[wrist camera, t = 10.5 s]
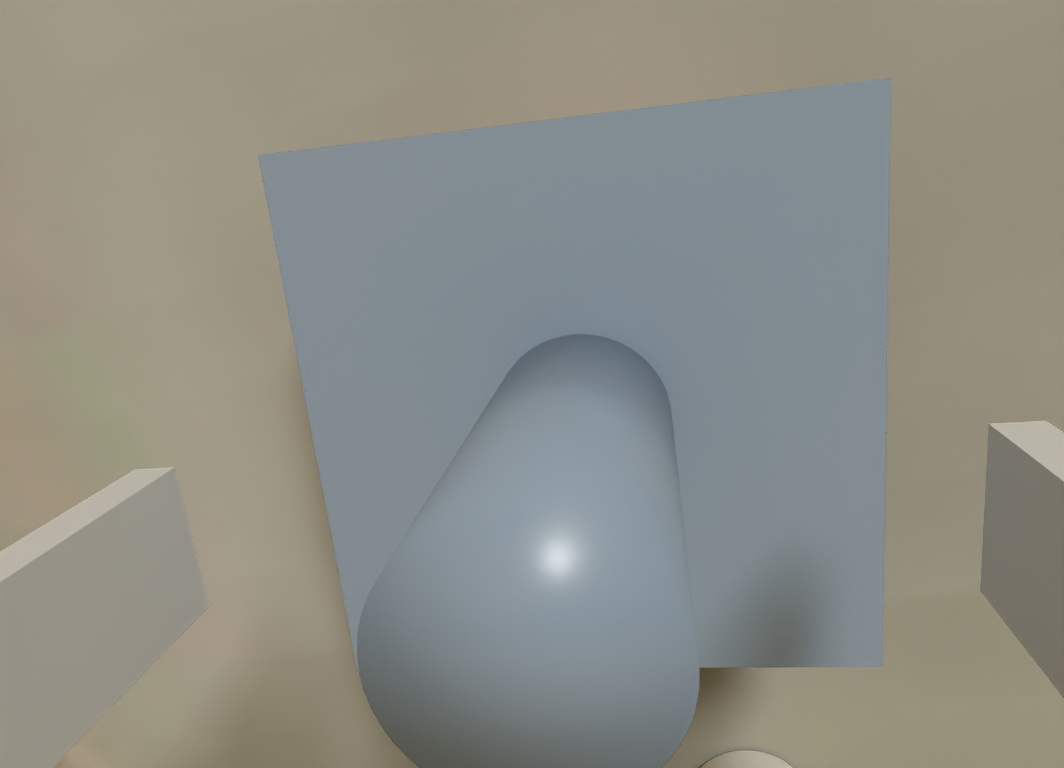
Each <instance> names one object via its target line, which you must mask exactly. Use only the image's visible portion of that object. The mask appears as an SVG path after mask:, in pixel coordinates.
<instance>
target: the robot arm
mask: <svg viewBox="0 0 1064 768" xmlns="http://www.w3.org/2000/svg"><path fill="white" fill-rule="evenodd" d="M980 591H981V592H982V594H983V595H984V596H985V597H986V599H987V600H988V601H989V603H990V604H991V605H992V606H993V608H994V609H995V610H996V612H997V613H998V614H999V615H1000V617H1001V618H1002V619H1003V621H1004V622H1005V623H1006V624H1007V626H1008V627H1009V628H1010V630H1011V631H1012V632H1013V633H1014V635H1015V636H1016V637H1017V639H1018V640H1019V641H1020V642H1021V644H1022V645H1023V646H1024V648H1025V649H1026V650H1027V651H1028V653H1029V654H1030V655H1031V657H1032V658H1033V659H1034V660H1035V662H1036V663H1037V664H1038V666H1039V667H1040V668H1041V669H1042V671H1043V672H1044V673H1045V675H1046V676H1047V677H1048V678H1049V680H1050V681H1051V682H1052V684H1053V685H1054V686H1055V687H1056V689H1057V690H1058V691H1059V693H1060V694H1061V695H1062V696H1063V698H1064V432H1062V431H1061V430H1059V429H1058V428H1056V427H1055V426H1053V425H1051V424H1050V423H1048V422H1047V421H1032V422H1014V423H995V424H989V430H988V449H987V469H986V489H985V508H984V528H983V548H982V567H981V587H980ZM208 608H209V606H208V602H207V598H206V594H205V590H204V585H203V581H202V577H201V573H200V569H199V565H198V561H197V557H196V553H195V549H194V545H193V541H192V537H191V533H190V529H189V525H188V521H187V517H186V512H185V508H184V504H183V500H182V496H181V492H180V488H179V484H178V480H177V476H176V472H175V468H174V467H172V468H153V469H135V470H133V471H131V472H130V473H128V474H126V475H125V476H123V477H122V478H120V479H118V480H117V481H115V482H113V483H112V484H110V485H108V486H107V487H105V488H104V489H102V490H100V491H99V492H97V493H95V494H94V495H92V496H90V497H89V498H87V499H86V500H84V501H82V502H81V503H79V504H77V505H76V506H74V507H72V508H71V509H69V510H68V511H66V512H64V513H63V514H61V515H59V516H58V517H56V518H55V519H53V520H51V521H50V522H48V523H46V524H45V525H43V526H41V527H40V528H38V529H37V530H35V531H33V532H32V533H30V534H28V535H27V536H25V537H23V538H22V539H20V540H19V541H17V542H15V543H14V544H12V545H10V546H9V547H7V548H5V549H4V550H2V551H1V552H0V768H54V766H55V765H56V764H57V763H58V762H59V761H60V760H61V759H62V758H63V757H64V756H65V755H66V754H67V753H68V752H69V751H70V750H71V749H72V748H73V747H74V746H75V745H76V744H77V743H78V742H79V741H80V740H81V739H82V738H83V737H84V736H85V734H86V733H87V732H88V731H89V730H90V729H91V728H92V727H93V726H94V725H95V724H96V723H97V722H98V721H99V720H100V719H101V718H102V717H103V716H104V715H105V714H106V713H107V712H108V711H109V710H110V709H111V708H112V707H113V706H114V705H115V704H116V702H117V701H118V700H119V699H120V698H121V697H122V696H123V695H124V694H125V693H126V692H127V691H128V690H129V689H130V688H131V687H132V686H133V685H134V684H135V683H136V682H137V681H138V680H139V679H140V678H141V677H142V676H143V675H144V674H145V673H146V672H147V670H148V669H149V668H150V667H151V666H152V665H153V664H154V663H155V662H156V661H157V660H158V659H159V658H160V657H161V656H162V655H163V654H164V653H165V652H166V651H167V650H168V649H169V648H170V647H171V646H172V645H173V644H174V643H175V642H176V641H177V640H178V639H179V637H180V636H181V635H182V634H183V633H184V632H185V631H186V630H187V629H188V628H189V627H190V626H191V625H192V624H193V623H194V622H195V621H196V620H197V619H198V618H199V617H200V616H201V615H202V614H203V613H204V612H205V611H206V610H207V609H208Z"/></svg>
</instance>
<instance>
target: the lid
mask: <svg viewBox="0 0 1064 768" xmlns="http://www.w3.org/2000/svg"><path fill="white" fill-rule="evenodd" d="M890 123H891V78H885V79H877V80H869V81H861V82H853V83H844V84H836V85H828V86H820V87H812V88H803V89H795V90H787V91H779V92H771V93H763V94H754V95H746V96H738V97H730V98H722V99H713V100H705V101H697V102H689V103H681V104H672V105H664V106H656V107H648V108H640V109H632V110H623V111H615V112H607V113H599V114H591V115H582V116H574V117H566V118H558V119H550V120H541V121H533V122H525V123H517V124H509V125H500V126H492V127H484V128H476V129H468V130H460V131H451V132H443V133H435V134H427V135H419V136H410V137H402V138H394V139H386V140H378V141H369V142H361V143H353V144H345V145H337V146H329V147H320V148H312V149H304V150H296V151H288V152H279V153H271V154H263V155H258V159H259V164H260V169H261V174H262V179H263V185H264V190H265V195H266V200H267V205H268V210H269V216H270V221H271V226H272V231H273V236H274V241H275V247H276V252H277V257H278V262H279V267H280V272H281V278H282V283H283V288H284V293H285V298H286V303H287V309H288V314H289V319H290V324H291V329H292V334H293V340H294V345H295V350H296V355H297V360H298V366H299V371H300V376H301V381H302V386H303V391H304V397H305V402H306V407H307V412H308V417H309V422H310V428H311V433H312V438H313V443H314V448H315V453H316V459H317V464H318V469H319V474H320V479H321V484H322V490H323V495H324V500H325V505H326V510H327V515H328V521H329V526H330V531H331V536H332V541H333V546H334V552H335V557H336V562H337V567H338V572H339V577H340V583H341V588H342V593H343V598H344V603H345V608H346V614H347V619H348V624H349V629H350V634H351V639H352V645H353V650H354V655H355V660H356V665H357V670H359V674H360V678H361V681H362V685H363V689H364V692H365V694H366V697H367V699H368V702H369V704H370V707H371V709H372V711H373V712H374V714H375V716H376V718H377V719H378V721H379V723H380V725H381V726H382V728H383V729H384V730H385V732H386V733H387V734H388V736H389V737H390V738H391V740H392V741H393V742H394V744H395V745H396V746H397V747H398V748H399V749H400V750H401V751H402V752H403V753H404V754H405V755H406V756H407V757H408V758H409V759H410V760H411V761H412V762H414V763H415V764H416V765H417V766H418V767H419V768H662V767H663V766H664V765H665V764H666V763H667V762H668V761H669V759H670V758H671V757H672V755H673V754H674V753H675V751H676V750H677V749H678V747H679V746H680V744H681V743H682V741H683V739H684V737H685V735H686V733H687V731H688V730H689V728H690V725H691V722H692V719H693V716H694V713H695V710H696V705H697V700H698V694H699V674H700V670H699V668H738V667H883V613H884V543H885V473H886V403H887V333H888V263H889V193H890Z"/></svg>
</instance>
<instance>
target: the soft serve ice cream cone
mask: <svg viewBox="0 0 1064 768" xmlns="http://www.w3.org/2000/svg"><path fill="white" fill-rule="evenodd" d="M701 768H793V767H791V766H790V765H789V764H787V763H786V762H785V761H783V760H781V759H779V758H777V757H775V756H773V755H770V754H767V753H764V752H758V751H752V750H738V751H732V752H727V753H724V754H721V755H718V756H716V757H714V758H713V759H711V760H709V761H707V762H706V763H705V764H704V765H703V766H702V767H701Z"/></svg>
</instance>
